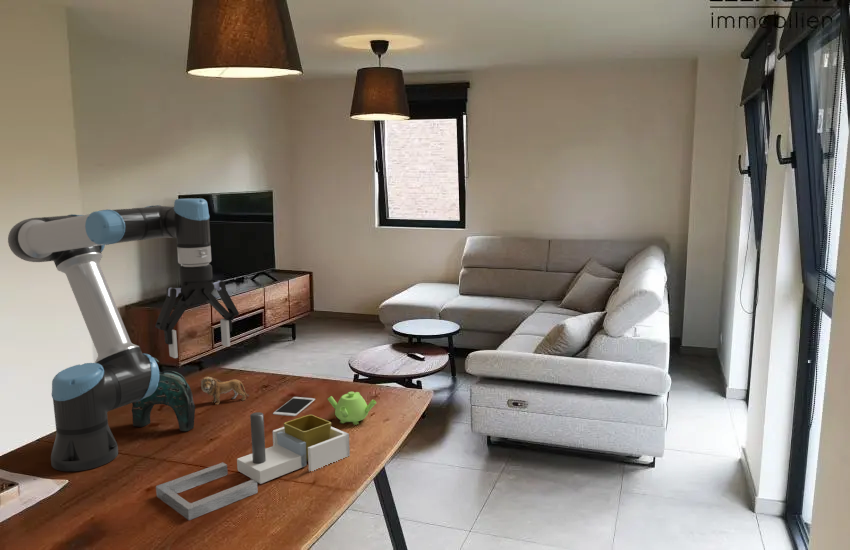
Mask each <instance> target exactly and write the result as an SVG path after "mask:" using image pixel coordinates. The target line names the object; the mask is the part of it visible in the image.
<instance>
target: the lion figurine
mask: <svg viewBox="0 0 850 550" xmlns="http://www.w3.org/2000/svg"><path fill="white" fill-rule="evenodd" d="M200 381H201V382H200V388H201V390H202V392H203V393H206V394H207V395H208V396H212V398H213V400H212V401H211V403H213V402H214V405H215V406H218V405H219V404H220V403H221V401H220V397H221V394H227V393H230V392H231V391H233V393H234V395H233V396H231V399H232V400H234V399H236V398H237V396H239V395H240V396H242V397H241V398H240V400H241V401H242V402H243V401H246V397H249V396H250V394H248V393H247V392H246V389H245V385H244V383H243V382H242V381H241V380H239V379H236V378H235V379H230V380H227V381H222V380H220V379H218V378H214V377H211V376H205V377H203V378H202V379H201V380H200Z"/></svg>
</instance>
